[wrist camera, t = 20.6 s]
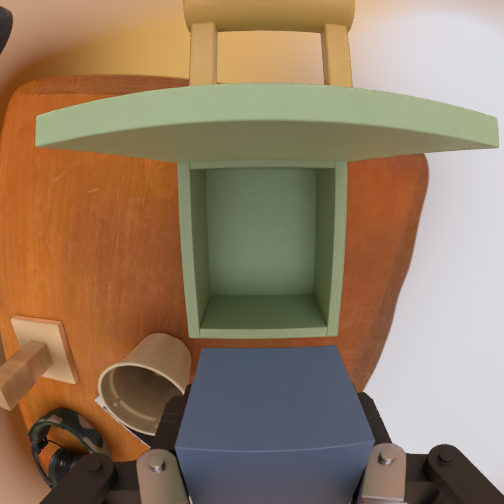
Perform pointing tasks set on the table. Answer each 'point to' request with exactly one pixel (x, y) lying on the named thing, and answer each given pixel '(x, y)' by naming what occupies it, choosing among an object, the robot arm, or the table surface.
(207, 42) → the lid
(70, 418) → the headphones
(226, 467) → the block
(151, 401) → the flower pot
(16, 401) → the post
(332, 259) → the chest
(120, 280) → the table surface
